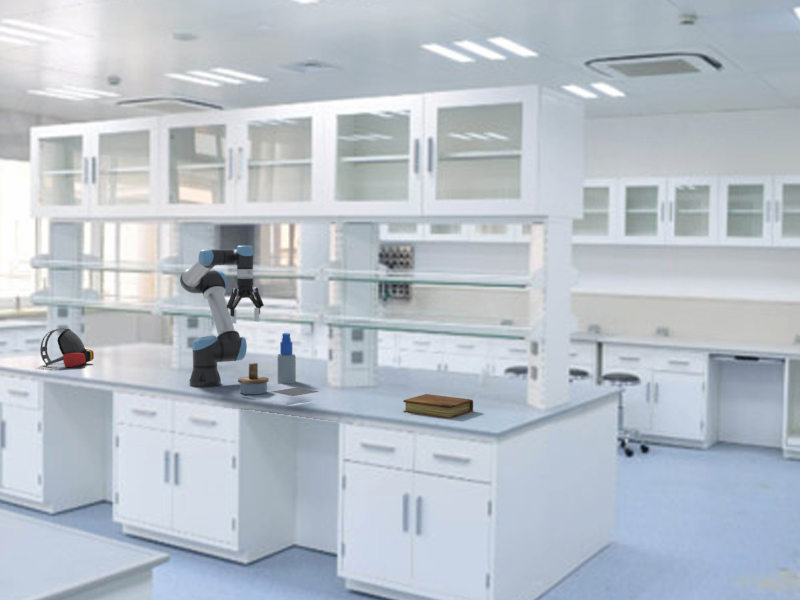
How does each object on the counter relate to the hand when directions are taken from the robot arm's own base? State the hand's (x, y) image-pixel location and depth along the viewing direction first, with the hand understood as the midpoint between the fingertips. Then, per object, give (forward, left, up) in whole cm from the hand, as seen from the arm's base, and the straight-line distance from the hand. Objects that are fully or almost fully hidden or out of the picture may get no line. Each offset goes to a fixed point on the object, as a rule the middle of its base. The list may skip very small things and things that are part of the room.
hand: (245, 322), depth 437 cm
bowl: (+16, -8, -32) cm, 36 cm away
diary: (+104, +21, -32) cm, 111 cm away
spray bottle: (+4, +22, -32) cm, 39 cm away
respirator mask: (-130, -25, -32) cm, 136 cm away
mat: (+28, +7, -32) cm, 43 cm away
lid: (+16, -8, -26) cm, 31 cm away
